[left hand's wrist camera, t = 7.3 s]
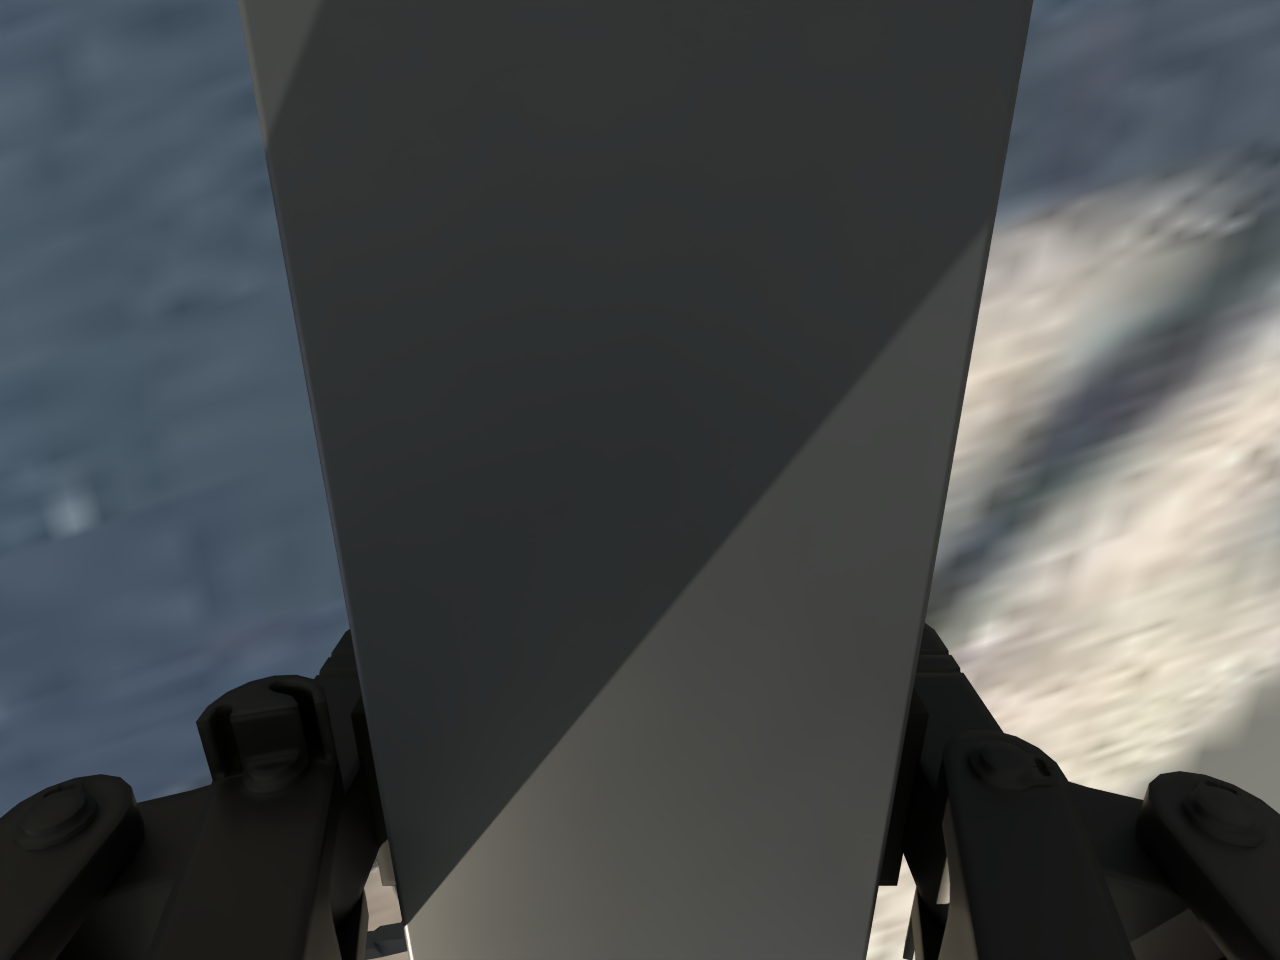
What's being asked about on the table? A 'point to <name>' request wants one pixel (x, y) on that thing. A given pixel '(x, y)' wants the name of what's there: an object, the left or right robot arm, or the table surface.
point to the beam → (636, 436)
